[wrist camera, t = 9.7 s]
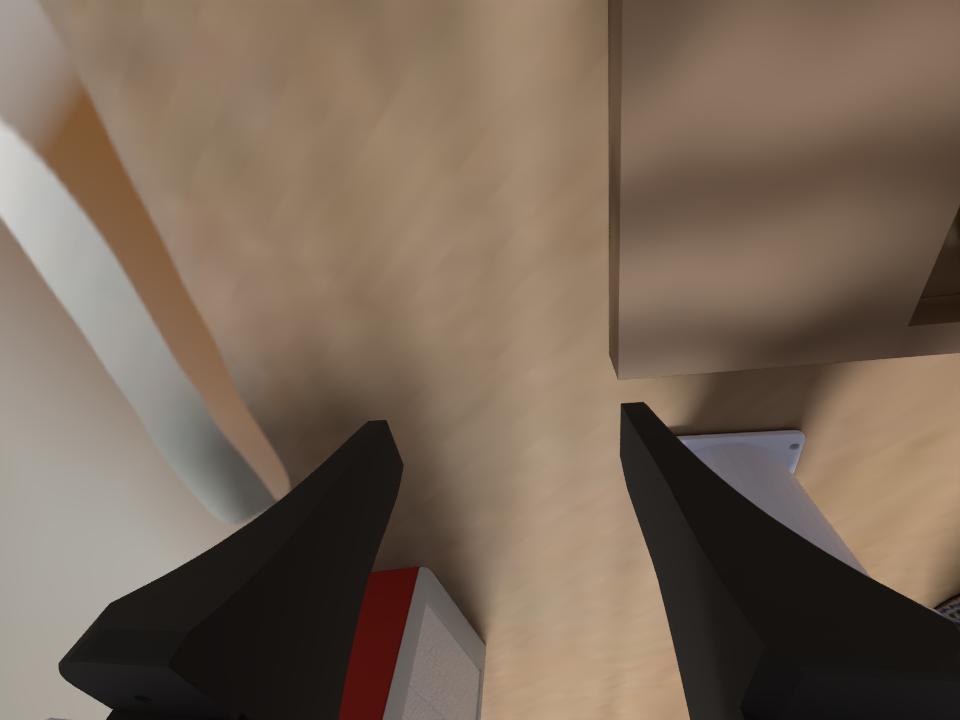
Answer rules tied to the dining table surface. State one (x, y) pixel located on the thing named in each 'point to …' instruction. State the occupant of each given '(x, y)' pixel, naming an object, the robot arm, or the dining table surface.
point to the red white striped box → (412, 653)
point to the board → (780, 182)
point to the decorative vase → (951, 610)
